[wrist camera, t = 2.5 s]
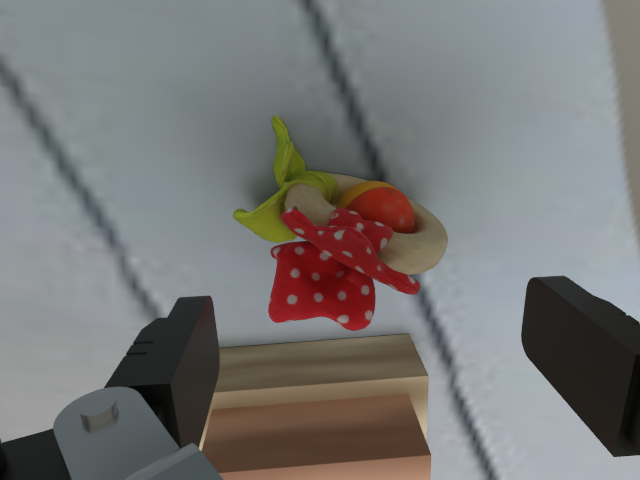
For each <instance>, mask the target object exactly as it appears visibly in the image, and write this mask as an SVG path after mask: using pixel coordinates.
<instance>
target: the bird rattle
mask: <svg viewBox="0 0 640 480" xmlns="http://www.w3.org/2000/svg"><path fill="white" fill-rule="evenodd" d="M272 126H273V129H274V131H275V133H276V135H277V150H276V155H275V160H274V165H273V171H274V176H275V179H276V182H277V184H278V186H279V188H280V190H279V191H278V192H277V193H275V194H274V195H273V196H272V197H271V198H270V199H268V200H267V201H266V202H264V203H263V204H261V205H260V206H259V207H257V208H256V209H255V210H253V211H252V212H247V211H245V210H243V209H237V210H236V211H235V212H234V214H233V217H234V219H236V220H237V221H238V222H239V223H241V224H242V225H244V226H245V227H247V228H249V229H251V230H252V231H253V232H254V233H255V234H257V235H258V236H260V237H261V238H263V239H265V240H268V241H272V242H277V243H279V242H285V241H291V240H293V239H295V238H296V237H297V236H299V237H302V238H304V239H305V240H306V241H302V242H290V243H285V244H281V245H278V246H275V247H273V248H272V249H271V255H272V257H273V258H275V259H277V269H276V274H275V280H274V284H273V288H272V293H271V296H270V301H269V309H268V311H269V316H270V318H271V319H272V321H273V322H276V323H280V322H289V321H295V320H304V319H309V318H314V317H320V316H321V317H327V318H330V319H332V320H334V321H335V322H337V323H338V324H339V325H340V326H342V327H344V328H346V329H348V330H351V331H356V330H360V329H363V328H365V327H367V326H368V325H369V324H370V322H371V319H372V317H373V314H374V309H375V287H374V283H373V279H375V280H377V281H379V282H381V283H384V284H386V285H388V286H390V287H391V288H393V289H395V290H398V291H400V292H403V293H406V294H417V293H418V291H419V289H420V284H419V282H418V281H417V280H415V279H414V278H412V277H411V276H409V275H412V274H418V273H422V272H425V271H427V270H429V269H431V268H433V267H434V266H435V265H436V264H437V263H438V262H439V261H440V260H441V258H442V256H443V254H444V252H445V250H446V247H447V243H448V237H447V233H446V230H445V228H444V227H443V225H442V224H441V222H440V221H439V220H438V219H437V218H436V217H435V216H434V215H433V214H432V213H430V212H429V211H428V210H427V209H425V208H424V207H422V206H421V205H419V204H418V203H416V202H415V201H413V200H411V199H410V198H408V197H406V196H405V195H404V194H403V193H402V192H401V191H400V190H399V189H397V188H396V187H394V186H392V185H390V184H388V183H385V182H381V181H368V180H364V179H361V178H356V177H352V176H347V175H341V174H332V173H325V172H322V171H312V170H308V171H305V168H306V167H305V162H304V160H303V158H302V157H301V155H300V154H299V153H298V151H297V150H296V149H295V148H294V145H293V143H292V142H291V140H290V137H289V134H288V131H287V128H286V125H285V123H284V122H283V121H282V119H281V118H279V117H278V116H276V115H275V116H273V118H272ZM335 207H336V208H335ZM372 278H373V279H372Z"/></svg>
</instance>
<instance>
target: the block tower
mask: <svg viewBox="0 0 640 480" xmlns="http://www.w3.org/2000/svg"><path fill="white" fill-rule="evenodd" d="M219 354H220V368H219V376H218V380H217V383H216V387H215V391H214V394H213V398H212V402H211V405H210V409H209V413H208V416H207V420H206V424H205V427H204V431H203V435H202V438H201V442H200V446H199V449H200V450H201V452H202V453H203V454H204V455H205V457H206V458H207V459H208V460H209V462H210V463H211V464H212V465H213V467H214V468H215V469H216V471H217V472H218V473H219V474H220V476H221V477H222V478H223V479H224V480H430V471H431V453H430V451H429V448H428V445H427V443H426V433H427V403H428V374H427V372H426V369H425V367H424V365H423V363H422V361H421V359H420V356H419V354H418V352H417V350H416V348H415V345H414V343H413V341H412V339H411V337H410V335H409V334H402V335H388V336H375V337H362V338H349V339H335V340H322V341H309V342H296V343H283V344H269V345H256V346H243V347H230V348H219Z"/></svg>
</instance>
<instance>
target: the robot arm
mask: <svg viewBox="0 0 640 480" xmlns="http://www.w3.org/2000/svg"><path fill="white" fill-rule="evenodd" d="M521 338H522V345H523V348H524V351H525V353H526V355H527V357H528V358H529V359H530V361H531V362H532V363H533V364H534V365H535V366H536V367H537V369H538V370H539V371H540V372H541V373H542V374H543V376H544V377H545V378H546V379H547V380H548V381H549V383H550V384H551V385H552V386H553V387H554V388H555V389H556V391H557V392H558V393H559V394H560V395H561V396H562V398H563V399H564V400H565V401H566V402H567V403H568V404H569V406H570V407H571V408H572V409H573V410H574V411H575V413H576V414H577V415H578V416H579V417H580V418H581V420H582V421H583V422H584V423H585V424H586V425H587V426H588V428H589V429H590V430H591V431H592V432H593V433H594V435H595V436H596V437H597V438H598V439H599V440H600V442H601V443H602V444H603V445H604V446H605V447H606V448H607V450H608V451H609V452H610V453H611V454H612V455H613V457H620V456H634V455H640V324H639V322H638V321H637V320H635V319H634V318H632V317H631V316H629V315H627V316H626V313H625V312H623V311H622V310H620V309H619V308H617V307H616V306H615V305H613V304H612V303H610V302H608V301H605V300H603V299H601V298H598V297H596V296H593V295H592V294H590V293H589V292H587V291H586V290H584V289H583V288H582V287H580V286H579V285H577V284H576V283H574V282H573V281H571V280H570V279H569V278H567V277H565V276H550V277H533V278H531V279H530V281H529V282H528V285H527V290H526V298H525V307H524V315H523V323H522V332H521ZM219 368H220V354H219V345H218V337H217V330H216V322H215V314H214V307H213V301H212V298H211V296H196V297H180V298H178V300H177V302H176V303H175V305H174V307H173V309H172V311H171V312H170V314H169V316H168V318H157V319H156V320H154V321H153V322H152V323H150V324H149V325H147V326H146V327H145V328H143V329H142V330H141V331H140V333H139V335H138V336H137V338H136V339H135V341H134V342H133V345H131V347H130V348H129V350H128V352H127V353H126V356H124V358H123V359H122V361H121V362H120V364H119V365H118V367H117V369H116V370H115V372H114V373H113V375H112V376H111V378H110V379H109V381H108V382H107V384H106V386H105V387H104V389H100V390H96V391H93V392H91V393H88V394H86V395H84V396H82V397H80V398H78V399H76V400H75V401H73V402H72V403H70V404H69V405H68V406H66V407H65V408H64V409H63V410H62V411H61V412H60V413H59V415H58V416H57V418H56V419H55V422H54V425H53V429H50V430H47V431H44V432H40V433H36V434H33V435H29V436H26V437H22V438H18V439H15V440H11V441H7V442H4V443H1V440H0V480H224V479H223V478H222V477H221V476H220V474H219V473H218V472H217V471H216V469H215V468H214V467H213V465H212V464H211V463H210V462H209V460H208V459H207V458H206V457H205V455H204V454H203V453H202V452H201V450H200V449H199V446H200V442H201V438H202V435H203V431H204V427H205V424H206V420H207V416H208V413H209V409H210V405H211V402H212V398H213V394H214V391H215V387H216V383H217V380H218V376H219Z"/></svg>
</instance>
